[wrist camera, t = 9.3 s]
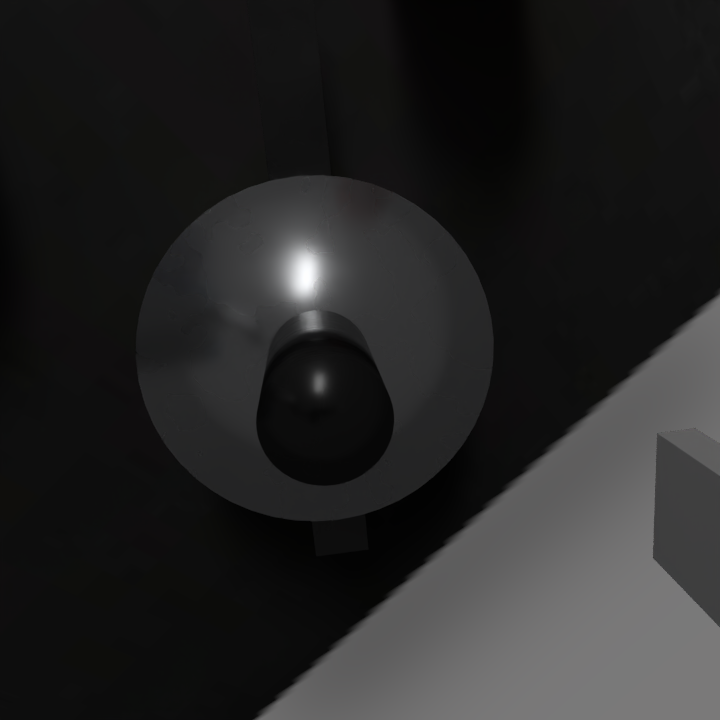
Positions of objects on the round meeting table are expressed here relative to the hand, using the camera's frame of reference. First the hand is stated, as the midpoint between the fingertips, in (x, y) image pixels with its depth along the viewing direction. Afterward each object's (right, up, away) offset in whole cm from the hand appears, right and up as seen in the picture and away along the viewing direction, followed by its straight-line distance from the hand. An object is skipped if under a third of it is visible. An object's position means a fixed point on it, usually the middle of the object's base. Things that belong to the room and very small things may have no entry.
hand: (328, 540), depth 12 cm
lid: (-1, +4, +14) cm, 15 cm away
